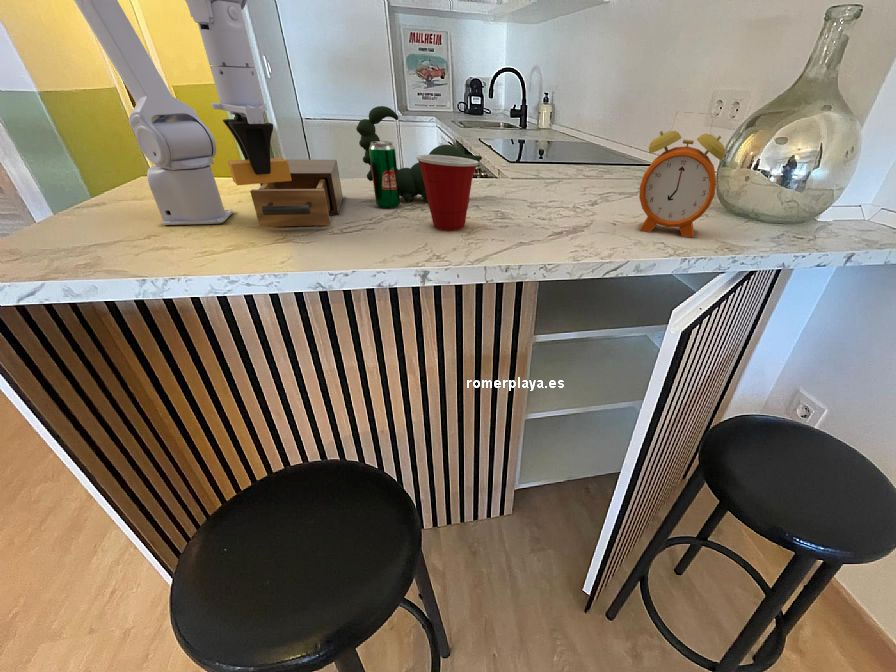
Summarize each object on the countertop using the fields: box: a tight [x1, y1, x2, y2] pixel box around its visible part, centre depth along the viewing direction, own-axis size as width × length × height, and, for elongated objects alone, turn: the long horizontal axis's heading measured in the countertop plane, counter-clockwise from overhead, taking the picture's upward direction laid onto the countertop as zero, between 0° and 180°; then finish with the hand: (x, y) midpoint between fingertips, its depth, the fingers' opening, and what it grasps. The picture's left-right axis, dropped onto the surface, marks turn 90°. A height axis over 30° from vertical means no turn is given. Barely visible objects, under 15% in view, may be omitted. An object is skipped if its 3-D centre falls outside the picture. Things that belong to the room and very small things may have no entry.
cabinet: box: [259, 158, 344, 216], centre depth 90 cm, size 15×13×8 cm
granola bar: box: [227, 157, 292, 186], centre depth 71 cm, size 8×3×3 cm, turn 126°
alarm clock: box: [638, 111, 727, 239], centre depth 82 cm, size 13×6×20 cm, turn 70°
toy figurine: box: [355, 105, 483, 203], centre depth 95 cm, size 9×19×25 cm
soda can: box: [369, 140, 401, 209], centre depth 91 cm, size 5×5×12 cm
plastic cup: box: [415, 154, 480, 232], centre depth 81 cm, size 11×11×12 cm
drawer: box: [249, 178, 332, 228], centre depth 80 cm, size 18×11×6 cm, turn 14°
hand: (260, 171), depth 71 cm, fingers closed on granola bar, 3 cm apart
